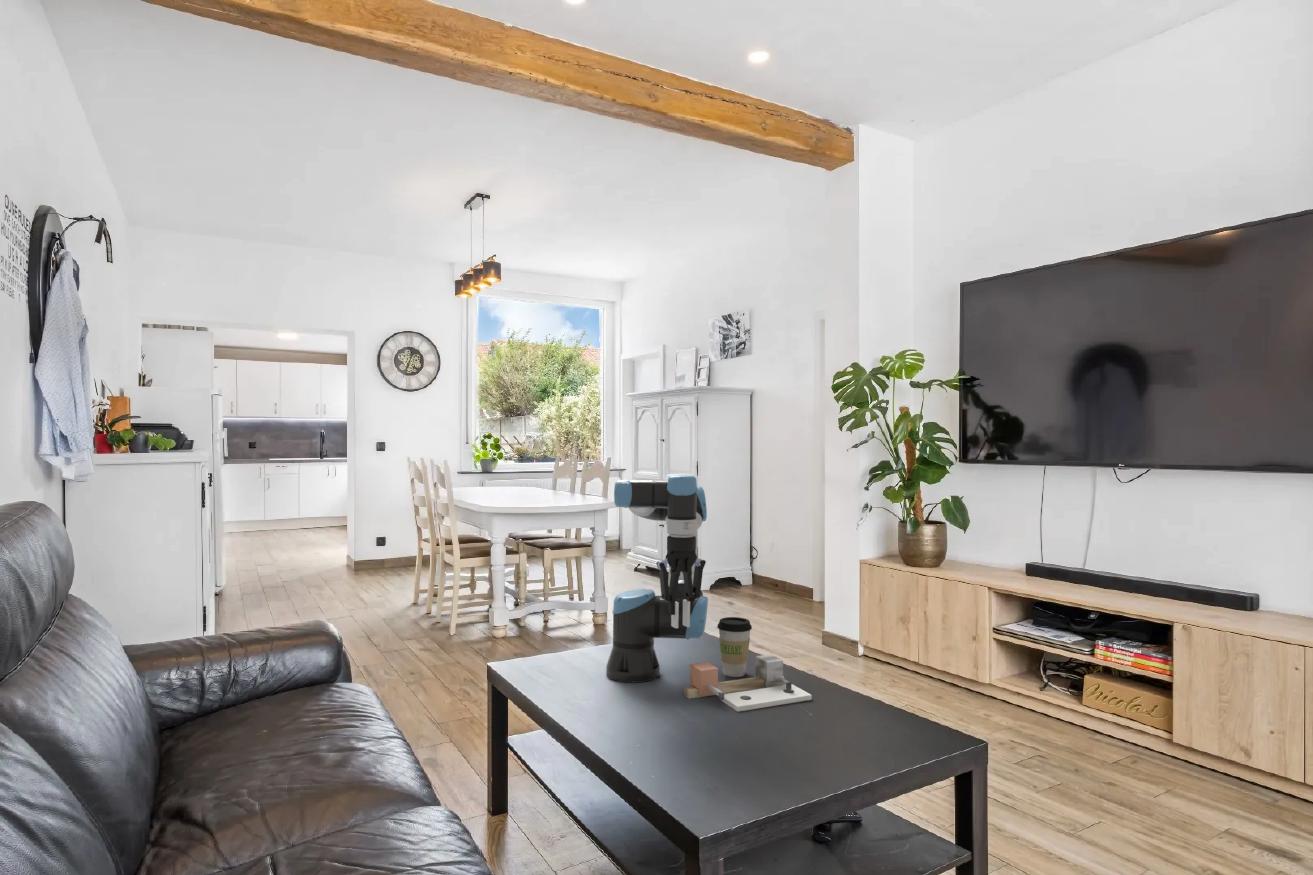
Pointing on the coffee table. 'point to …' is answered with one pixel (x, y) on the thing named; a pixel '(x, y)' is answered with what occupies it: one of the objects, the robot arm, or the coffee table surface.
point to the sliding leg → (705, 679)
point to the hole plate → (765, 697)
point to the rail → (766, 676)
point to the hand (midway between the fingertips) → (680, 626)
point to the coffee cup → (734, 644)
